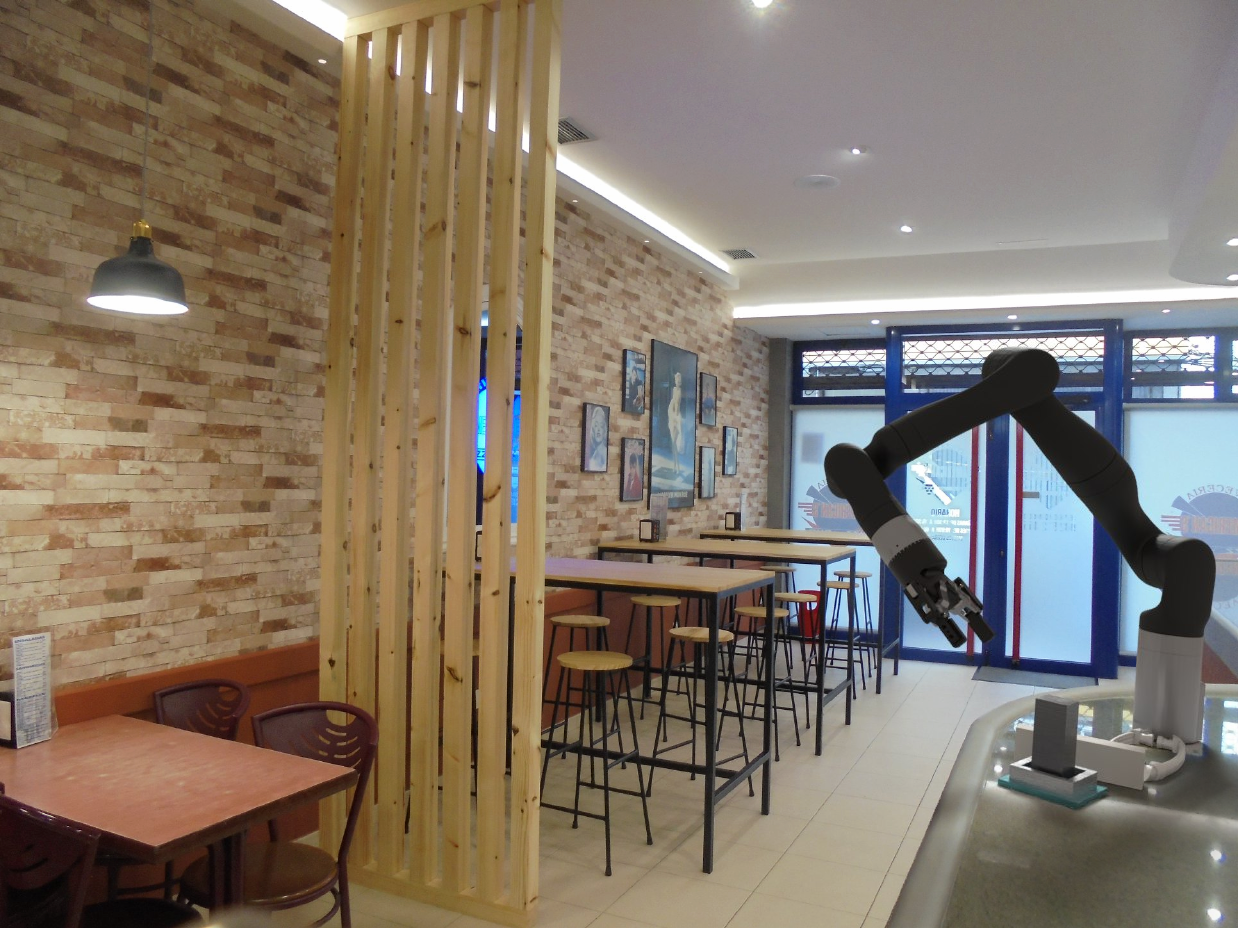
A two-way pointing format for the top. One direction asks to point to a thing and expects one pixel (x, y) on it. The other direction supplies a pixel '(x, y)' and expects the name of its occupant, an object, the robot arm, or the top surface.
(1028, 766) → the keeper
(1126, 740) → the door handle
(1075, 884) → the top surface
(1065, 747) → the block
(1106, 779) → the door edge
